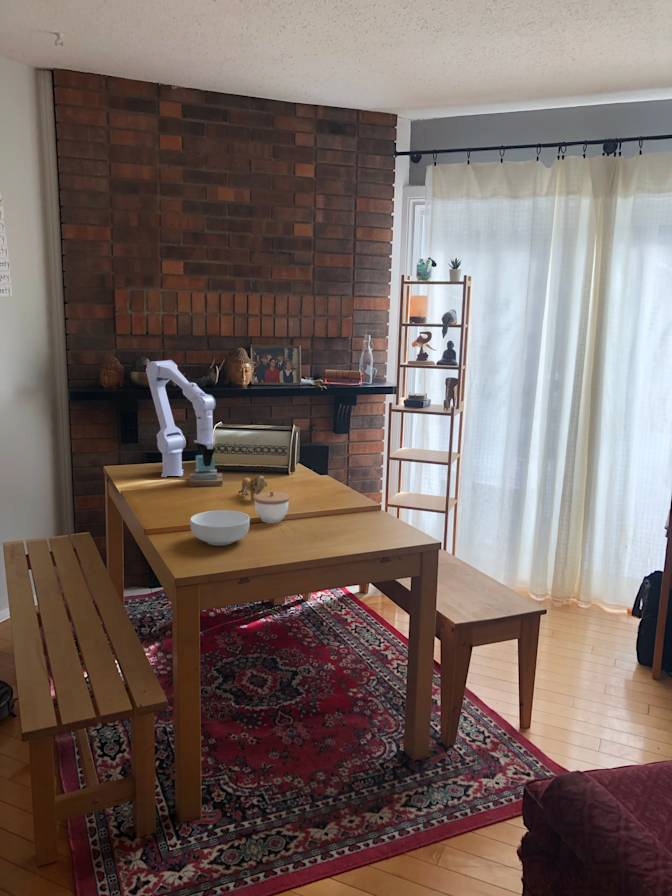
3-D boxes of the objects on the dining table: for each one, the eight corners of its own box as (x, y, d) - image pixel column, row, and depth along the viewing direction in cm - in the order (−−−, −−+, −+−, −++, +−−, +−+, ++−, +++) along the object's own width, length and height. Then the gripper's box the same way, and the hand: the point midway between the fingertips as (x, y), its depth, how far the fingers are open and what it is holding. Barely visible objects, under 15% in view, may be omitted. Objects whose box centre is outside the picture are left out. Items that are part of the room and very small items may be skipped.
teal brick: (196, 468, 276) (195, 455, 274) (211, 467, 278) (211, 454, 277) (198, 471, 271) (198, 458, 270) (214, 469, 274) (214, 456, 273)
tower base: (190, 478, 281) (190, 468, 280) (222, 477, 283) (222, 467, 282) (189, 486, 269) (188, 476, 268) (222, 486, 271) (222, 475, 270)
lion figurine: (270, 501, 252) (270, 475, 251) (258, 504, 249) (258, 478, 247) (244, 492, 263) (243, 468, 261) (231, 495, 259) (231, 470, 257)
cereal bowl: (262, 541, 212) (262, 517, 211) (216, 555, 200) (216, 530, 199) (224, 528, 224) (223, 505, 222) (178, 541, 211) (178, 517, 210)
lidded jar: (288, 525, 227) (288, 496, 225) (253, 525, 226) (253, 496, 224) (289, 515, 237) (289, 486, 235) (255, 515, 237) (255, 486, 235)
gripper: (189, 425, 276) (190, 460, 279) (198, 432, 263) (199, 469, 266) (208, 424, 279) (208, 459, 282) (218, 431, 266) (218, 467, 269)
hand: (205, 464), depth 274 cm, fingers open, 5 cm apart
